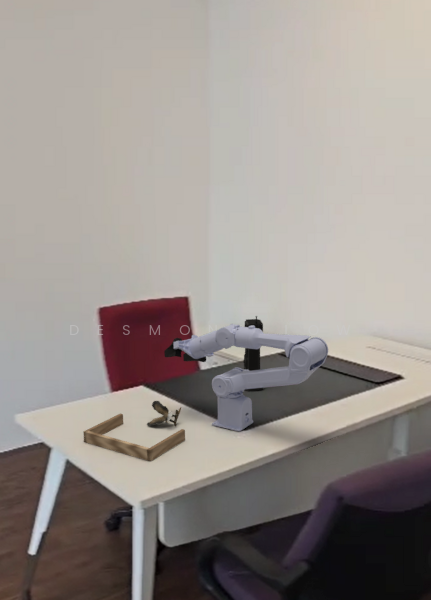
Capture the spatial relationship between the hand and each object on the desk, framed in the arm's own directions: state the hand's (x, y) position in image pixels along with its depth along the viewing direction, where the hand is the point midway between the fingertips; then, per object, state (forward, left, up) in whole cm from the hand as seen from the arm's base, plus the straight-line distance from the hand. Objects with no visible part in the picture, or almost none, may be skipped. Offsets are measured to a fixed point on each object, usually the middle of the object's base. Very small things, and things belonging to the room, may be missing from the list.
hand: (174, 355), depth 198 cm
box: (-4, +25, -17) cm, 30 cm away
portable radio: (-10, -28, -17) cm, 35 cm away
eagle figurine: (-4, +12, -17) cm, 21 cm away
